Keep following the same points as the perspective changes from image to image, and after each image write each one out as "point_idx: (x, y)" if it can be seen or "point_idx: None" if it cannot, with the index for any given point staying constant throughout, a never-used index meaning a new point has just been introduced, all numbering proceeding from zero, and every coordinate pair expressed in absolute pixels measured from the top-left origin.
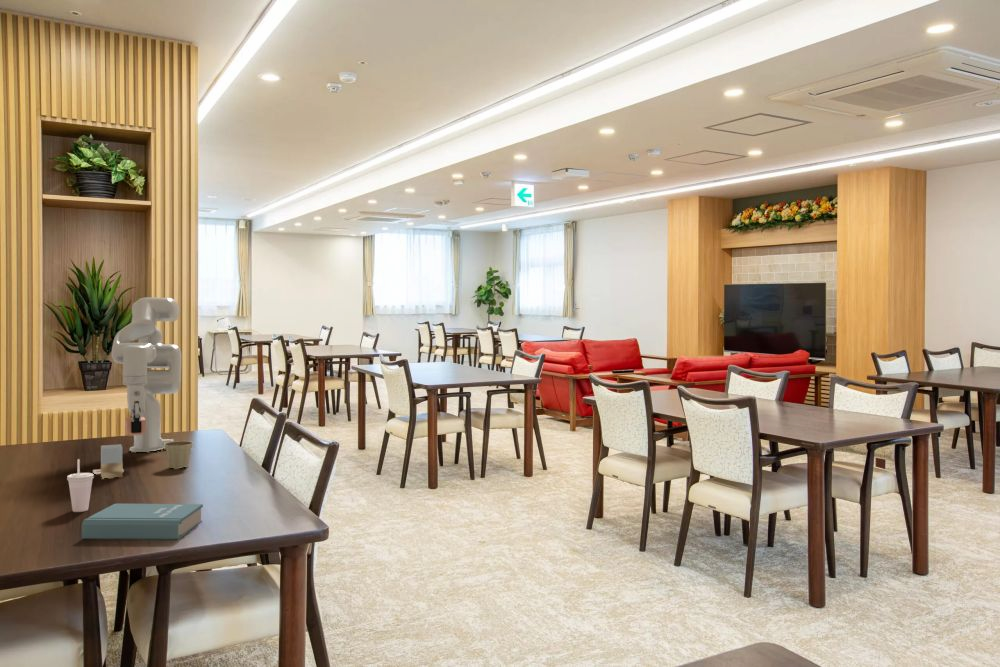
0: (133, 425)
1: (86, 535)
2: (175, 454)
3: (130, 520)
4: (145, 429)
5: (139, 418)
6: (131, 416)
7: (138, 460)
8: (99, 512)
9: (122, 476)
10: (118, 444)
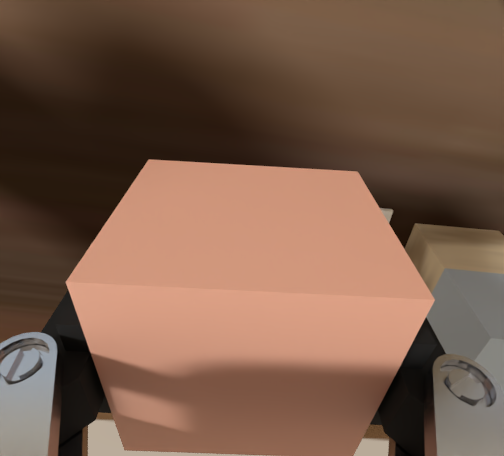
0: None
1: None
2: None
3: None
4: (374, 202)
5: (495, 426)
6: (82, 426)
7: (99, 91)
8: None
9: (500, 232)
10: (486, 349)
